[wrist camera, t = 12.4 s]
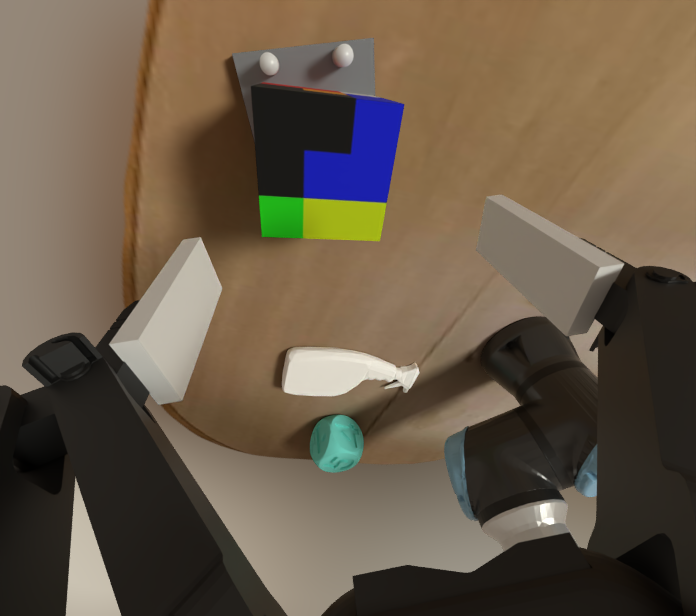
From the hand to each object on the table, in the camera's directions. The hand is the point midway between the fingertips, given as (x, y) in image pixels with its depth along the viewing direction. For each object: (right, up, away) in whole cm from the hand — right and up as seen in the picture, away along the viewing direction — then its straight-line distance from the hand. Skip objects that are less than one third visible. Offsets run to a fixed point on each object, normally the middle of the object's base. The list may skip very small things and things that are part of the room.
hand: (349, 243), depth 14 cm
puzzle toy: (-3, +13, +16) cm, 21 cm away
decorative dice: (-3, -28, +50) cm, 57 cm away
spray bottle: (+1, -14, +40) cm, 42 cm away
